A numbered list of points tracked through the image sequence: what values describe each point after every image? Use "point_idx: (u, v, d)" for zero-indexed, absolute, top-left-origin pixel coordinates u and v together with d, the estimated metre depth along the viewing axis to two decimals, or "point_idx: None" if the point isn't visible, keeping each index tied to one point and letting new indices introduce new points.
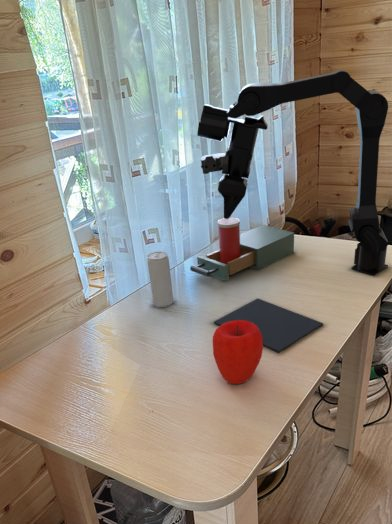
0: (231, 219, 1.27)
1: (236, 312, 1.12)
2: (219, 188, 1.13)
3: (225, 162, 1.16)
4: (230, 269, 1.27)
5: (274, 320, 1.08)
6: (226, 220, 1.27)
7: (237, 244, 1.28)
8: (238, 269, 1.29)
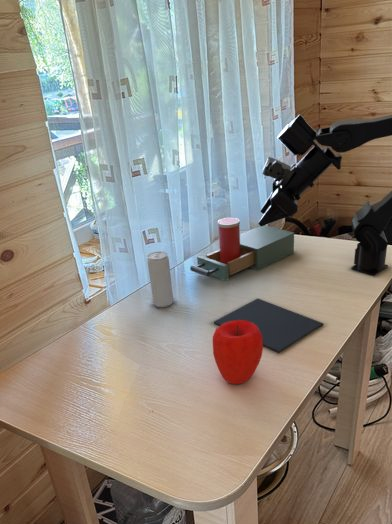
0: (231, 219, 1.27)
1: (236, 312, 1.12)
2: (274, 198, 1.13)
3: (288, 176, 1.16)
4: (230, 269, 1.27)
5: (274, 320, 1.08)
6: (226, 220, 1.27)
7: (237, 244, 1.28)
8: (238, 269, 1.29)
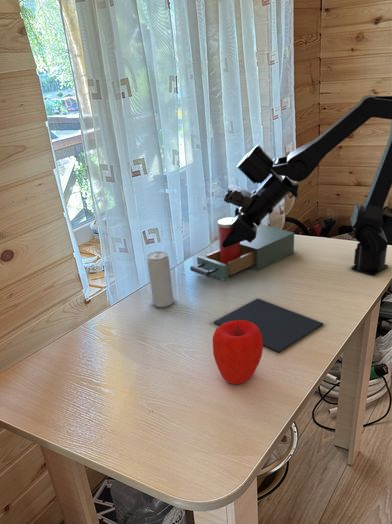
0: (231, 219, 1.27)
1: (236, 312, 1.12)
2: (233, 225, 1.18)
3: (248, 203, 1.21)
4: (230, 269, 1.27)
5: (274, 320, 1.08)
6: (226, 220, 1.27)
7: (237, 244, 1.28)
8: (238, 269, 1.29)
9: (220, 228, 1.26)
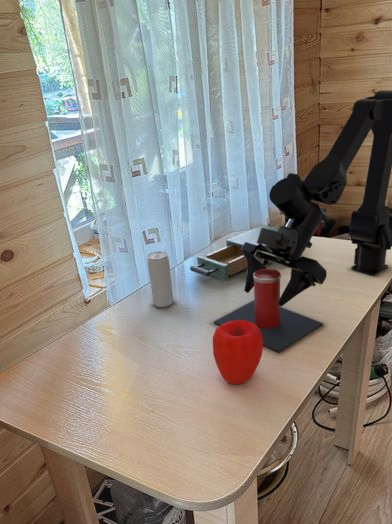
0: (264, 271, 1.03)
1: (236, 312, 1.12)
2: (311, 270, 0.96)
3: (295, 242, 1.00)
4: (230, 269, 1.27)
5: None
6: (263, 274, 1.02)
7: None
8: (238, 269, 1.29)
9: (267, 285, 1.00)
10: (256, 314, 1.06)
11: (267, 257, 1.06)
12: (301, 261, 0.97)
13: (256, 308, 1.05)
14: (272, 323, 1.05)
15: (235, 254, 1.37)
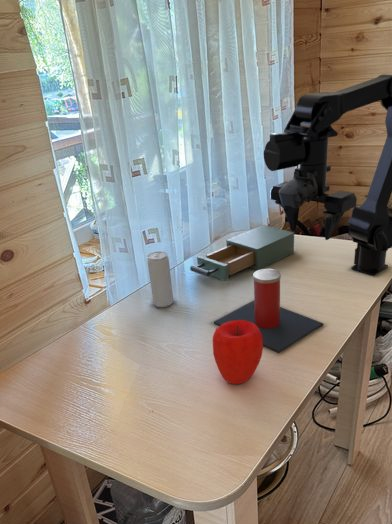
0: (264, 271, 1.03)
1: (236, 312, 1.12)
2: (340, 210, 1.02)
3: (315, 185, 1.04)
4: (230, 269, 1.27)
5: None
6: (263, 274, 1.02)
7: None
8: (238, 269, 1.29)
9: (267, 285, 1.00)
10: (256, 314, 1.06)
11: None
12: (328, 204, 1.03)
13: (256, 308, 1.05)
14: (272, 323, 1.05)
15: (235, 254, 1.37)
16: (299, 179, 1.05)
